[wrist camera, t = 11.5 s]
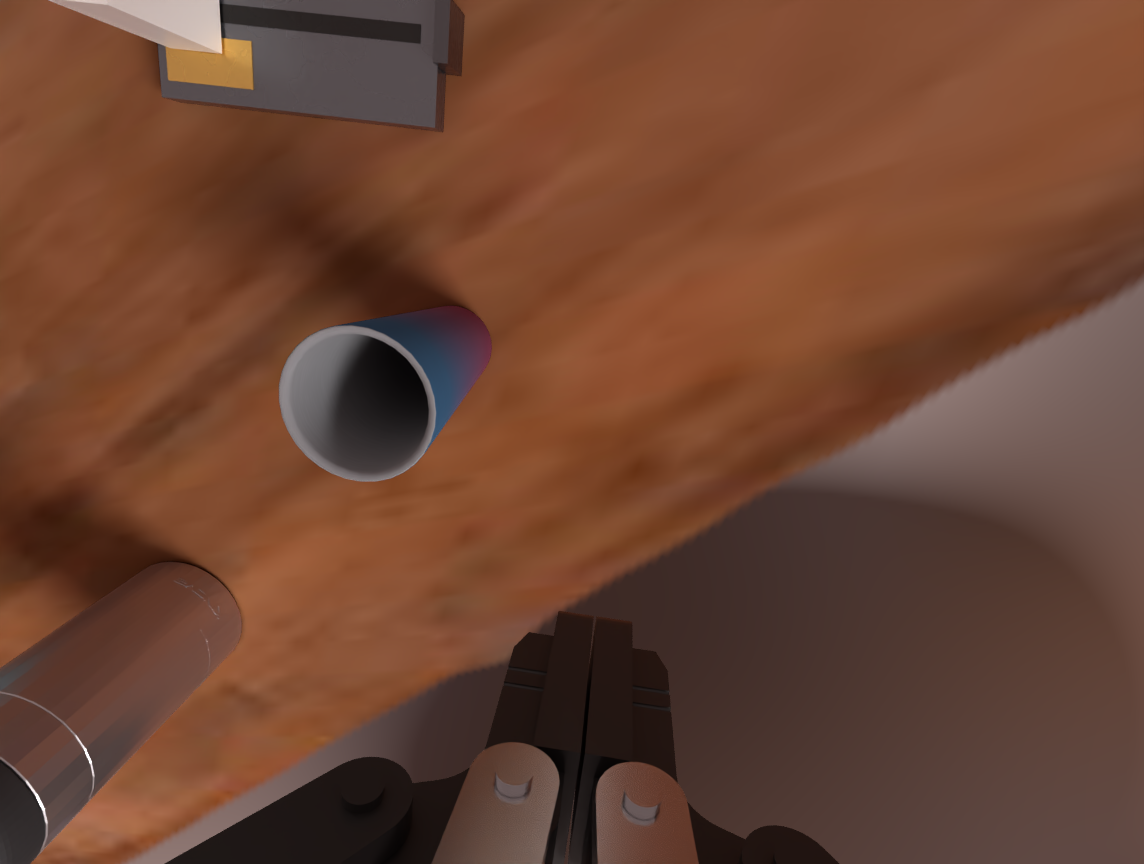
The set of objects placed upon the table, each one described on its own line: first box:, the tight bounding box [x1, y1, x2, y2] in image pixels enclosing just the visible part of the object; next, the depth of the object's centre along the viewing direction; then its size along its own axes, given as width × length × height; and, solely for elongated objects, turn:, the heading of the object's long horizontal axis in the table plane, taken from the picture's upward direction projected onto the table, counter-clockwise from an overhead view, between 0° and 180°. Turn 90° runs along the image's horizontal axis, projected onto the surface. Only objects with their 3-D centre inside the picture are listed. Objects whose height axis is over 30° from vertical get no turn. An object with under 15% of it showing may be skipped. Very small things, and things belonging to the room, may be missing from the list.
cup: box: [279, 306, 492, 481], centre depth 34 cm, size 7×7×15 cm
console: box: [158, 0, 464, 132], centre depth 34 cm, size 18×9×3 cm, turn 84°
